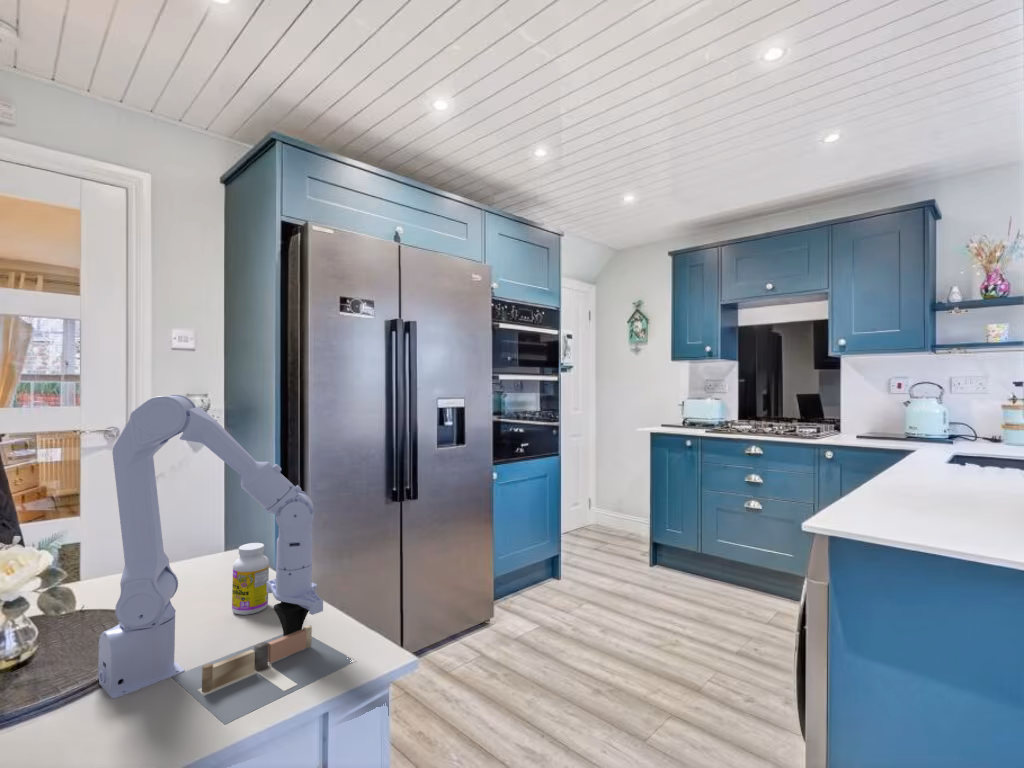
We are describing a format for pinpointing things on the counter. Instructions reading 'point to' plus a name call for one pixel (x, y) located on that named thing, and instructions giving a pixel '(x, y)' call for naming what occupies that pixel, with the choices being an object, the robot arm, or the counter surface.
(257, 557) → the supplement bottle
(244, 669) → the base
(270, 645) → the pink slab
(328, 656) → the board
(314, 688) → the counter surface
